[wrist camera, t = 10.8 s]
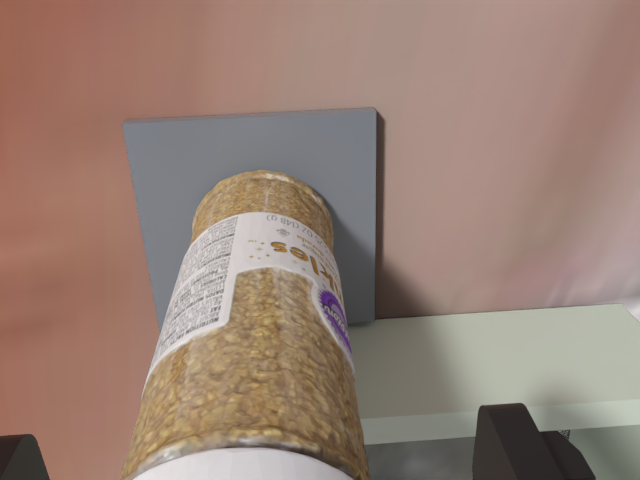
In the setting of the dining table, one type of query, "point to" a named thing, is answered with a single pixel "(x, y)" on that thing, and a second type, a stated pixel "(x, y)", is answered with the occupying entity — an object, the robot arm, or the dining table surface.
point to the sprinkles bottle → (253, 347)
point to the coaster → (251, 155)
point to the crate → (506, 377)
